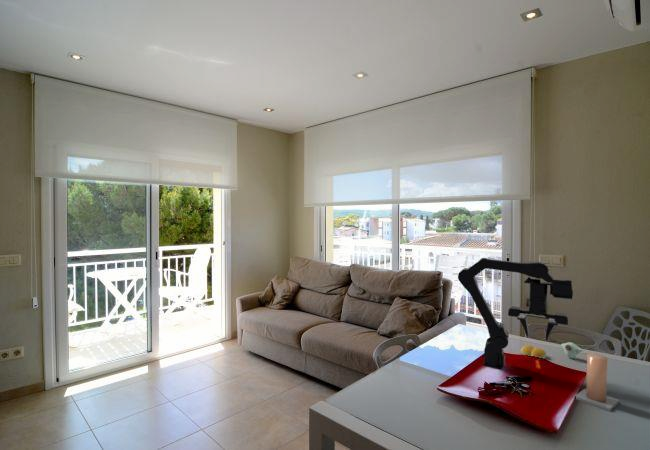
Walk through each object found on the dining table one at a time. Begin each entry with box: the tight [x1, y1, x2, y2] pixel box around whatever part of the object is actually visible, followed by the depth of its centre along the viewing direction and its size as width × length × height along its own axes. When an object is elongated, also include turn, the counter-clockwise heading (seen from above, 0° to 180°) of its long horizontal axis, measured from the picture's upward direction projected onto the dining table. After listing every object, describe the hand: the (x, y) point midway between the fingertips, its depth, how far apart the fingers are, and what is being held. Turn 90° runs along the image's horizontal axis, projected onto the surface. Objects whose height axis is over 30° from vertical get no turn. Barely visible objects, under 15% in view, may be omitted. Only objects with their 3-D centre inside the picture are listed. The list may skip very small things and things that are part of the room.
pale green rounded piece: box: [561, 341, 584, 359], centre depth 145 cm, size 8×4×7 cm, turn 27°
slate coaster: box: [575, 388, 620, 412], centre depth 111 cm, size 9×9×1 cm
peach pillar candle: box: [585, 353, 608, 402], centre depth 111 cm, size 5×5×13 cm
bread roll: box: [520, 344, 547, 360], centre depth 148 cm, size 8×9×4 cm
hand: (536, 338), depth 130 cm, fingers open, 6 cm apart
